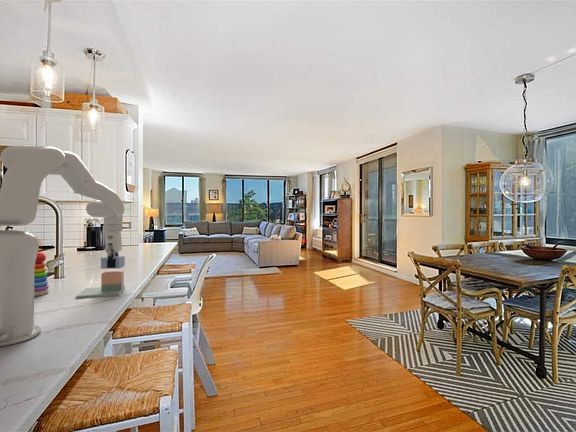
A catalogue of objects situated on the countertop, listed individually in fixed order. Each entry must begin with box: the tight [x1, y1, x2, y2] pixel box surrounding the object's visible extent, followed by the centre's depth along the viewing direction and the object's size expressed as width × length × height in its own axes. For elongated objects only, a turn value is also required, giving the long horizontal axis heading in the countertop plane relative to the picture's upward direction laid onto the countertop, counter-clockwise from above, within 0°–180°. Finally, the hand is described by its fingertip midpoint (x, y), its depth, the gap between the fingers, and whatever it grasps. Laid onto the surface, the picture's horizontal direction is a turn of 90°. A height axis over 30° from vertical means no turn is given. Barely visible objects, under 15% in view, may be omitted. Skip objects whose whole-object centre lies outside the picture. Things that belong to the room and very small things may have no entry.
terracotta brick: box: [100, 270, 125, 285], centre depth 132 cm, size 5×8×5 cm, turn 109°
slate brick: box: [100, 255, 126, 270], centre depth 132 cm, size 5×8×5 cm, turn 96°
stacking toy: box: [34, 251, 50, 297], centre depth 126 cm, size 8×8×19 cm
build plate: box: [75, 280, 126, 299], centre depth 130 cm, size 13×16×4 cm
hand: (113, 266), depth 132 cm, fingers closed on slate brick, 5 cm apart
